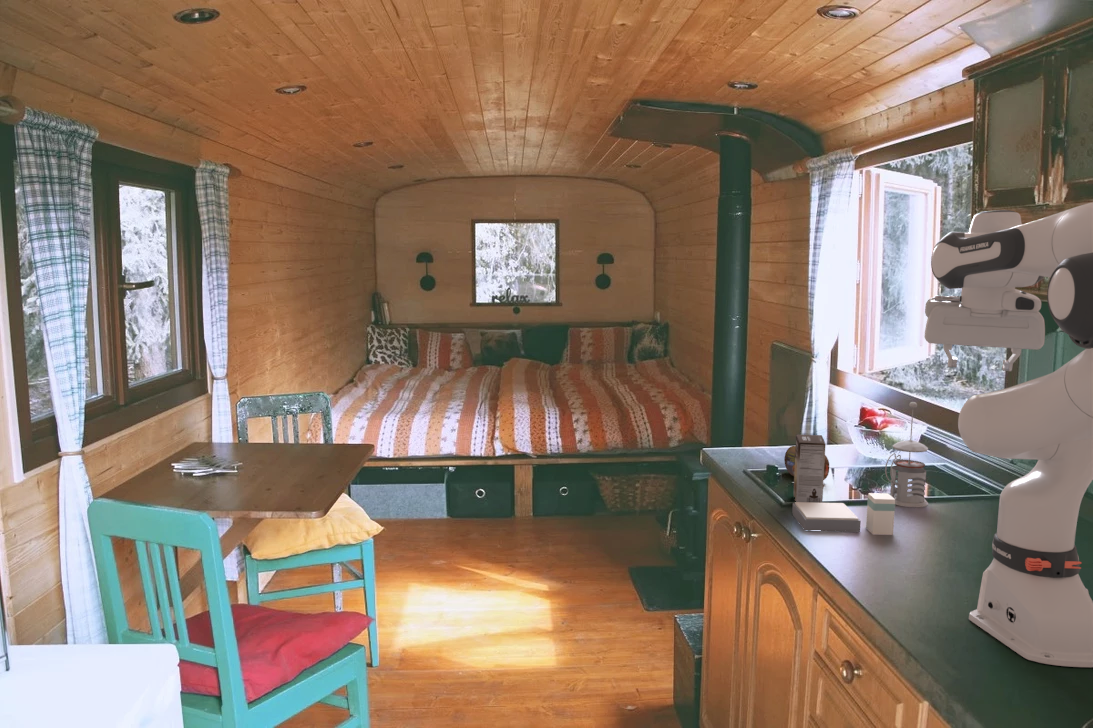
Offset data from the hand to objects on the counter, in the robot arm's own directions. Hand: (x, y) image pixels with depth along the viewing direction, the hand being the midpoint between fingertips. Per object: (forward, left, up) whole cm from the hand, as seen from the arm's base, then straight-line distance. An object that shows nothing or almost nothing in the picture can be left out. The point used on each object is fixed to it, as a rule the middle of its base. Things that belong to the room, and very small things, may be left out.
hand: (979, 368), depth 160 cm
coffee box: (+39, +21, -39) cm, 60 cm away
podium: (+23, +21, -39) cm, 50 cm away
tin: (+61, +16, -39) cm, 75 cm away
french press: (+41, -3, -39) cm, 57 cm away
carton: (+18, +11, -39) cm, 45 cm away
